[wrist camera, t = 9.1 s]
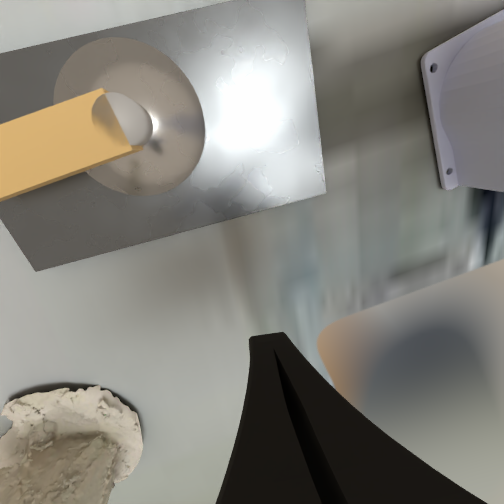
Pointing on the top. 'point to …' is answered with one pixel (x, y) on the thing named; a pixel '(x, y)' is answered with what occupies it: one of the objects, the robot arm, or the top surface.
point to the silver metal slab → (173, 126)
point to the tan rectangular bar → (69, 140)
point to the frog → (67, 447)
